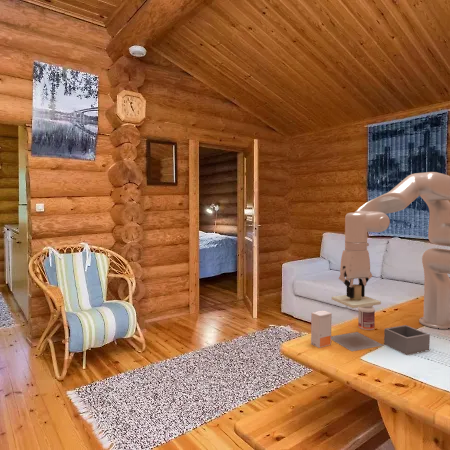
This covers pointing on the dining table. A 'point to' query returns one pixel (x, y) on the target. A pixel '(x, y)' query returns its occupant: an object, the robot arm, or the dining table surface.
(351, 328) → the dining table surface
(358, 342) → the mat
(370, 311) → the pill bottle
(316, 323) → the skincare box
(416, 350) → the open grey box
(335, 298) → the lid
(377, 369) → the dining table surface
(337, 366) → the dining table surface
